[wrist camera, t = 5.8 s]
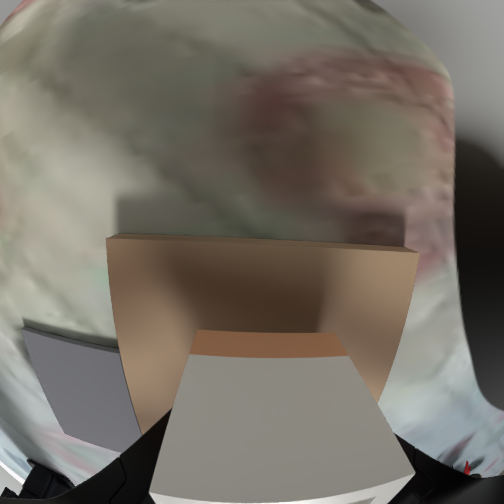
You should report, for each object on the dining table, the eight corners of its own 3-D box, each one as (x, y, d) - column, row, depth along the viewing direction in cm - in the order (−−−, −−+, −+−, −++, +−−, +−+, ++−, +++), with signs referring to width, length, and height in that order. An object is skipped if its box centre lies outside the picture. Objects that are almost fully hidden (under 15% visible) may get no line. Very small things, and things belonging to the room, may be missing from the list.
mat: (151, 455, 13) (150, 459, 13) (66, 430, 13) (64, 433, 13) (122, 349, 11) (119, 353, 11) (24, 326, 11) (21, 329, 11)
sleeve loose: (334, 332, 9) (415, 472, 3) (312, 422, 10) (344, 540, 4) (197, 329, 9) (149, 492, 3) (202, 421, 10) (185, 546, 4)
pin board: (321, 491, 15) (331, 534, 10) (171, 489, 14) (163, 533, 10) (404, 246, 11) (478, 278, 6) (119, 233, 10) (48, 261, 6)
